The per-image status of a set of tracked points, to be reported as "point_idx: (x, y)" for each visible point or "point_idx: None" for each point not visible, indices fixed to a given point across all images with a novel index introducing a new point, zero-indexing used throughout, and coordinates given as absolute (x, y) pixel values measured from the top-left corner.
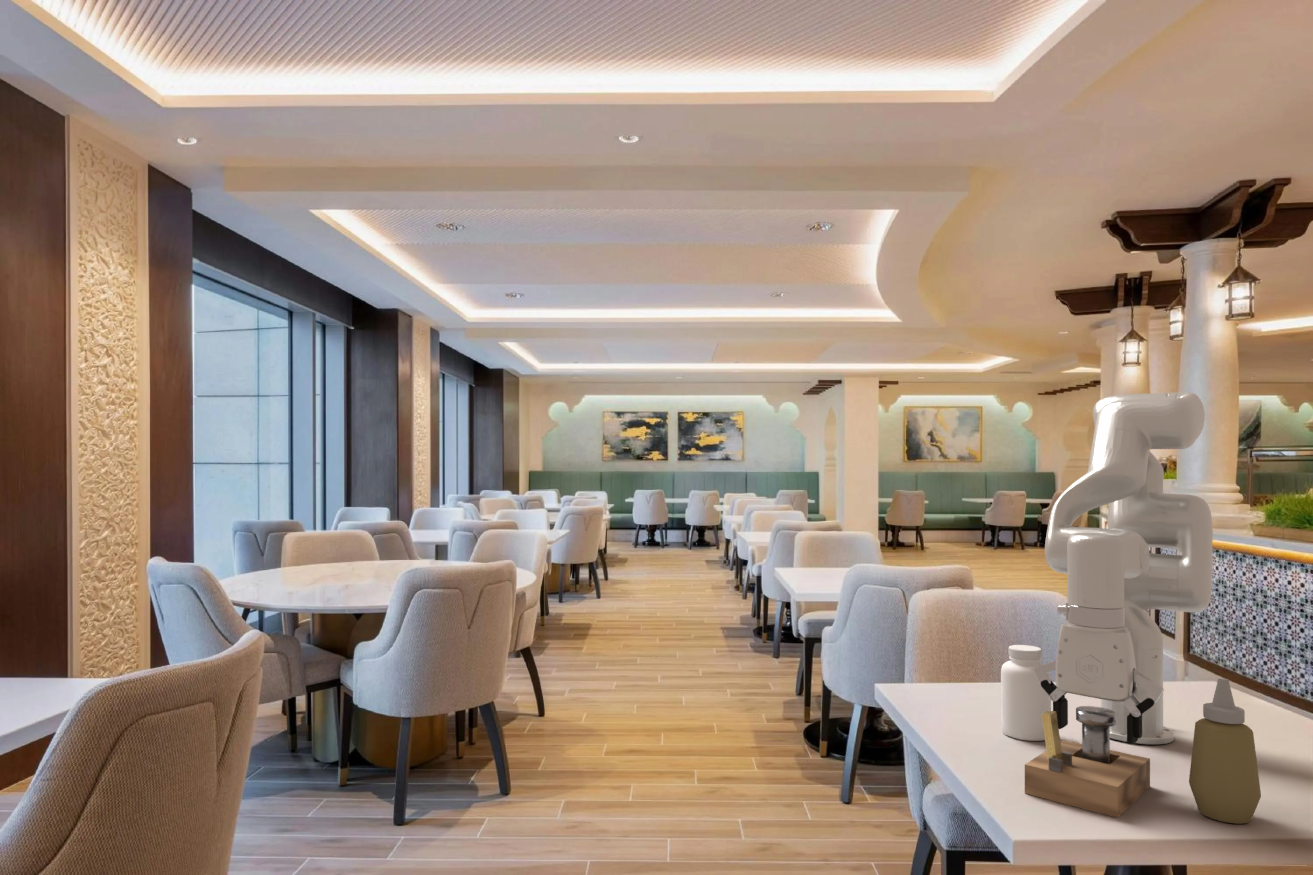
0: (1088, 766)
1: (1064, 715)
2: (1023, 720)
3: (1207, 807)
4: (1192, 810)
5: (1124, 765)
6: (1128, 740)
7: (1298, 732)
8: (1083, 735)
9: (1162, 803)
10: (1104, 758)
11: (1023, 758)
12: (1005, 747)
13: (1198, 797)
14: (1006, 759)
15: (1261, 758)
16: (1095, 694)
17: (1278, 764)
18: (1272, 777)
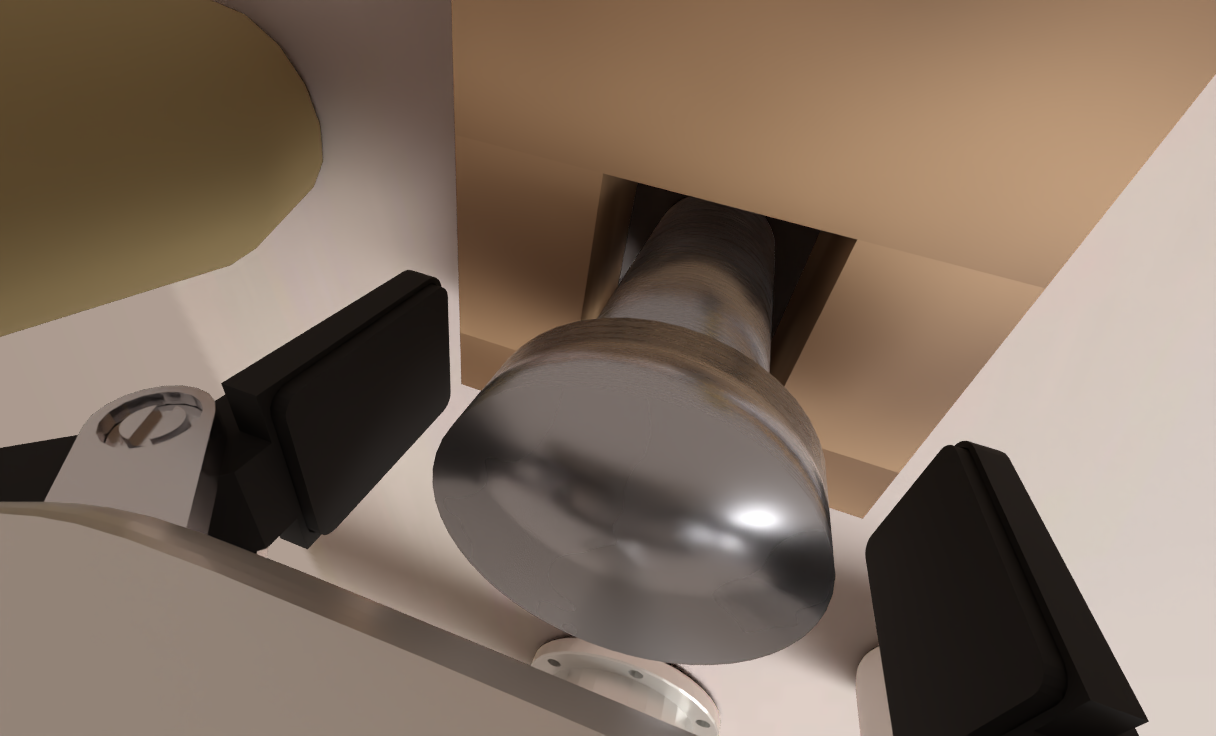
0: (741, 9)
1: (925, 577)
2: None
3: (209, 2)
4: (337, 105)
5: (527, 202)
6: (423, 280)
7: None
8: (759, 359)
9: (439, 126)
10: (638, 261)
11: (1048, 460)
12: (1108, 567)
13: (215, 25)
14: (1178, 420)
15: (379, 596)
16: (423, 716)
17: (347, 573)
18: None
